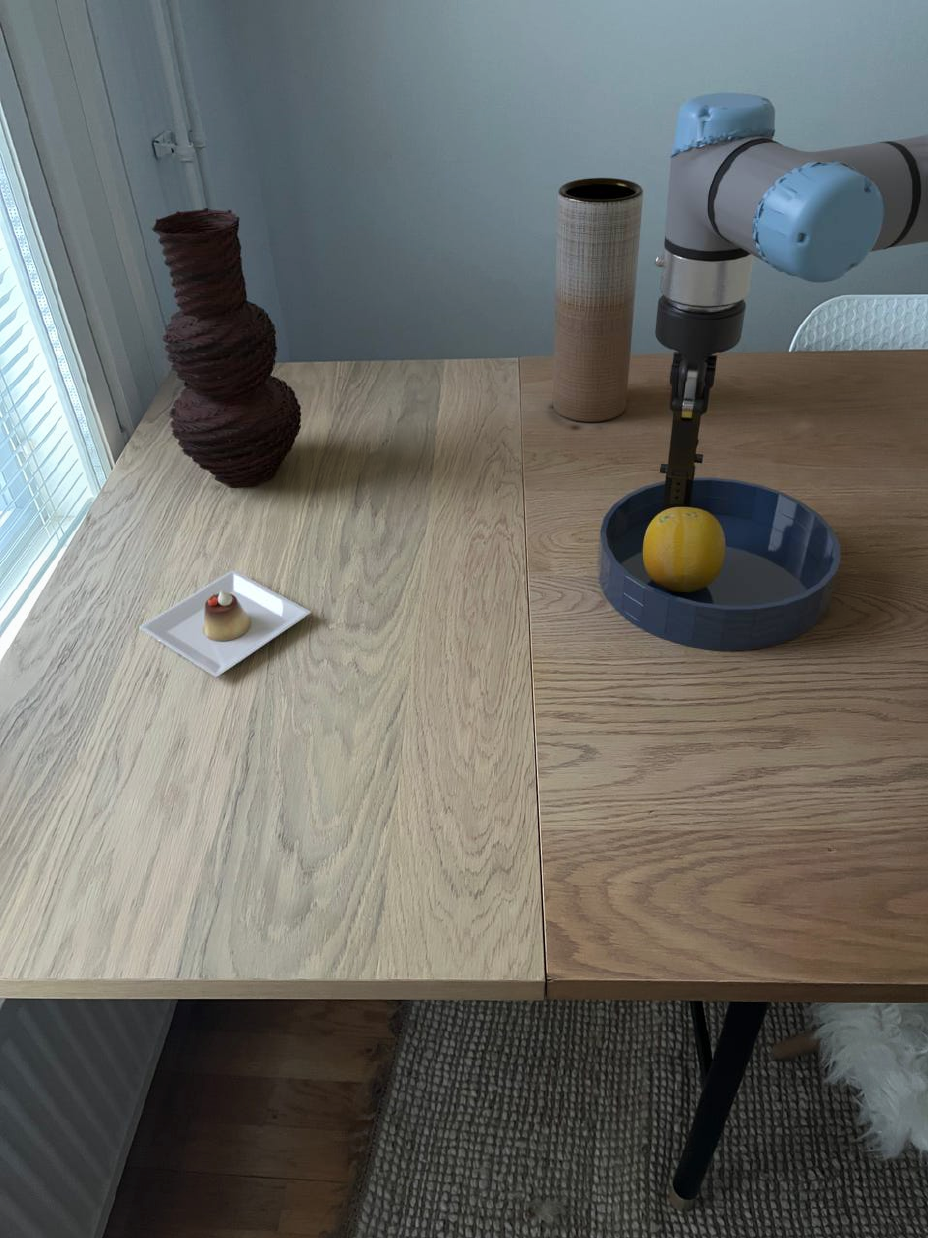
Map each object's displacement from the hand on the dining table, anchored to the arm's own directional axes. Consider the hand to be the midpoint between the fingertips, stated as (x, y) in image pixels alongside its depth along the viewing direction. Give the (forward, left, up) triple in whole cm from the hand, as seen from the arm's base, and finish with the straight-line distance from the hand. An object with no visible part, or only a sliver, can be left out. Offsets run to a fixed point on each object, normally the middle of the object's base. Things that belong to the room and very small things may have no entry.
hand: (674, 522), depth 97 cm
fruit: (-1, +5, -4) cm, 6 cm away
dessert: (+42, +20, -5) cm, 47 cm away
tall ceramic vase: (+14, -34, -5) cm, 37 cm away
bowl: (-4, +2, -5) cm, 7 cm away
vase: (+53, -9, -5) cm, 54 cm away
